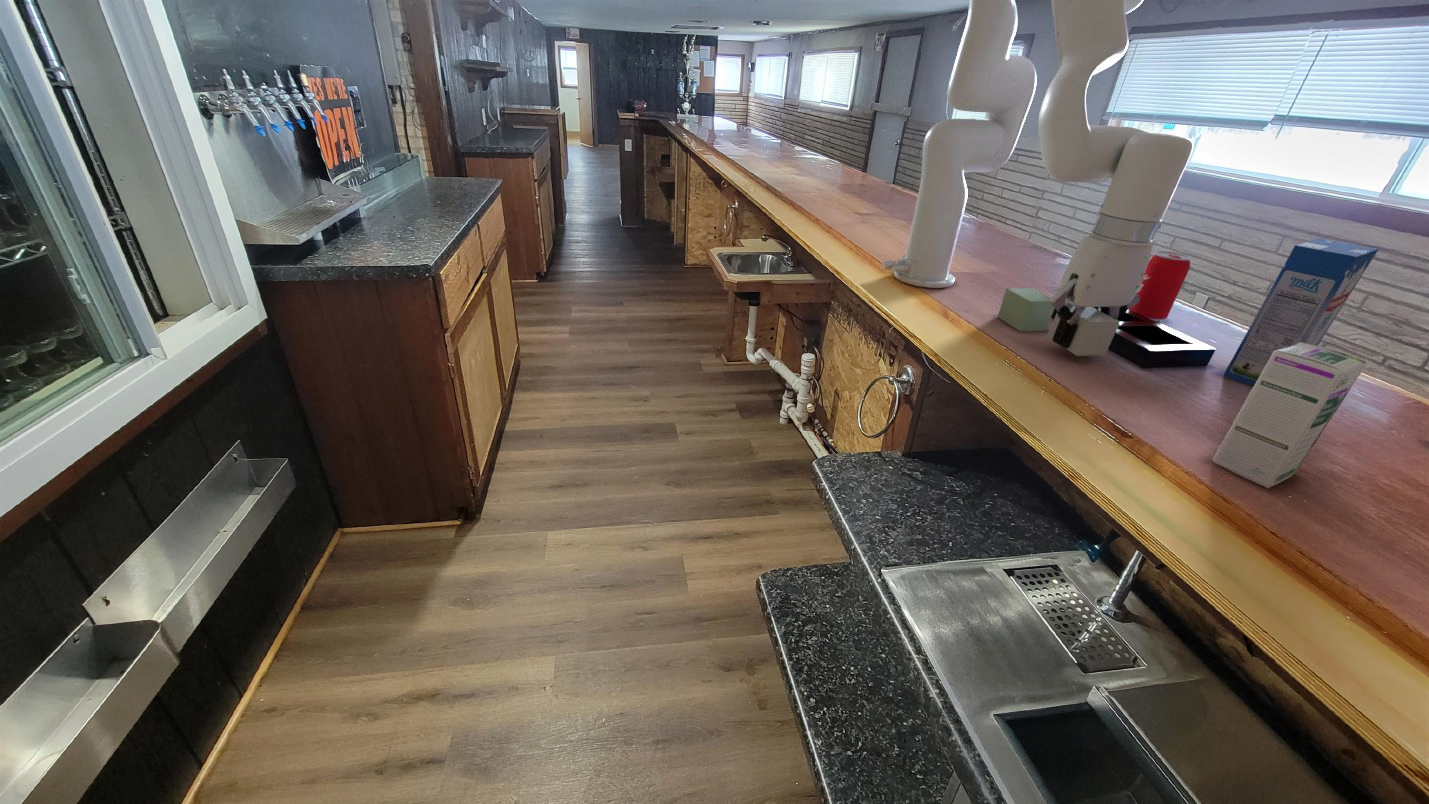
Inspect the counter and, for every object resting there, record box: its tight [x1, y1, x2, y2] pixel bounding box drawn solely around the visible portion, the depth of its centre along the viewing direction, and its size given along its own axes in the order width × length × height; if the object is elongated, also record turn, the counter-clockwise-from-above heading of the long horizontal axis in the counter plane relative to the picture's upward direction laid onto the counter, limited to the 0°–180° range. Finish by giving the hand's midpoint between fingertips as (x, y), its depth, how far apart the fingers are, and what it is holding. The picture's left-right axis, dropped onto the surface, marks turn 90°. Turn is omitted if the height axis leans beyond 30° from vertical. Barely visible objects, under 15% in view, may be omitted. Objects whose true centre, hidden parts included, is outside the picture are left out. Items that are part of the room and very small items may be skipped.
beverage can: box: [1129, 250, 1191, 322], centre depth 105 cm, size 6×6×12 cm
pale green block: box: [997, 287, 1054, 332], centre depth 101 cm, size 5×7×6 cm
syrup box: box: [1212, 342, 1368, 489], centre depth 61 cm, size 6×6×14 cm
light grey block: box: [1047, 306, 1120, 357], centre depth 89 cm, size 5×7×6 cm
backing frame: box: [1050, 301, 1217, 369], centre depth 97 cm, size 12×22×3 cm, turn 9°
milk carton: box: [1222, 238, 1379, 387], centre depth 82 cm, size 10×6×20 cm, turn 122°
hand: (1076, 343), depth 90 cm, fingers closed on light grey block, 5 cm apart
